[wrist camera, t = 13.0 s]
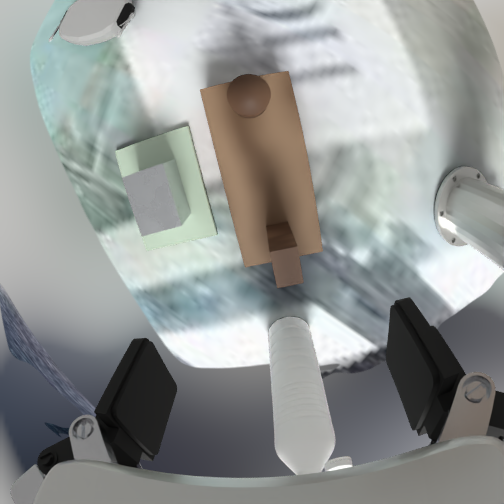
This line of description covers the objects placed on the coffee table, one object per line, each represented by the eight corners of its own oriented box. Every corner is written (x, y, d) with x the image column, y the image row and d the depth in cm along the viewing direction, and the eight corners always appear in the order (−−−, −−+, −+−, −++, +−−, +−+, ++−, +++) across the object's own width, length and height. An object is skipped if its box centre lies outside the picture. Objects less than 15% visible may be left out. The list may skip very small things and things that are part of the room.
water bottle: (295, 351, 44) (316, 494, 21) (260, 339, 43) (264, 491, 20) (325, 313, 41) (373, 464, 18) (289, 298, 40) (319, 463, 17)
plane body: (283, 80, 28) (299, 52, 17) (314, 236, 36) (339, 281, 25) (207, 96, 29) (183, 76, 18) (245, 249, 37) (243, 301, 26)
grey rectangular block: (175, 159, 31) (162, 163, 27) (191, 213, 34) (181, 225, 30) (138, 171, 32) (122, 177, 27) (155, 222, 35) (141, 236, 30)
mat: (188, 125, 30) (187, 125, 30) (217, 233, 36) (217, 235, 35) (117, 151, 31) (115, 151, 31) (148, 249, 37) (146, 251, 36)
